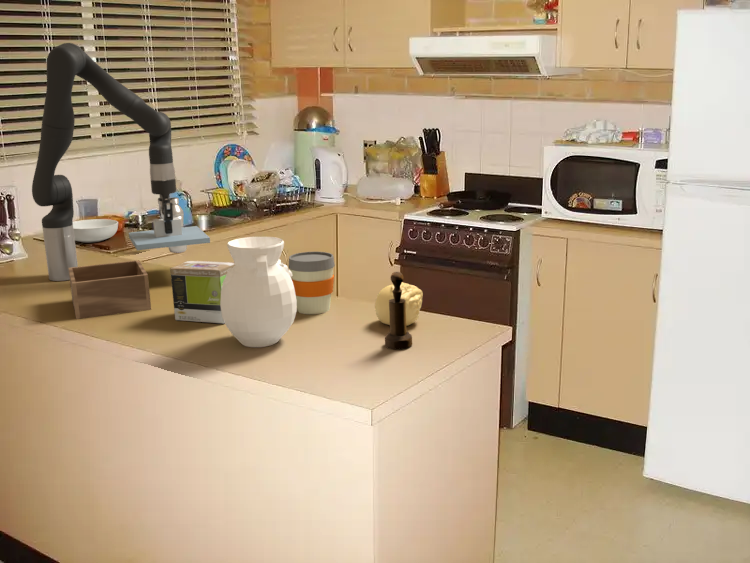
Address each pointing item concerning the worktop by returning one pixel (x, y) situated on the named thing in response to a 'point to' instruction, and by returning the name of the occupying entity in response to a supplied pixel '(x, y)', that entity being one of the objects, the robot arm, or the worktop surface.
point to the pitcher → (258, 292)
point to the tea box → (198, 290)
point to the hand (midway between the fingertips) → (167, 231)
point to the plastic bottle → (179, 213)
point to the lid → (168, 236)
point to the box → (109, 289)
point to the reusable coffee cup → (312, 281)
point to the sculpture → (408, 293)
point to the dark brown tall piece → (397, 317)
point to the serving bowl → (94, 230)
